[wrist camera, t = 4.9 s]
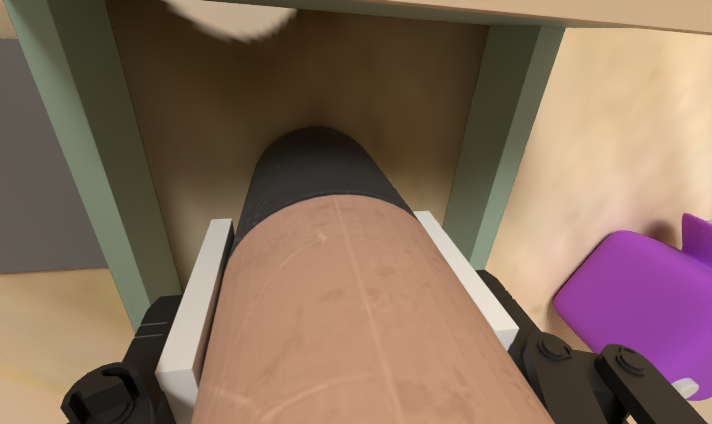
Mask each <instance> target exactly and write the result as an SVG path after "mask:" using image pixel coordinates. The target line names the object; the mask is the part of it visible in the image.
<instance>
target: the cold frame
mask: <svg viewBox="0 0 712 424" xmlns="http://www.w3.org/2000/svg"><path fill="white" fill-rule="evenodd" d="M205 1H216V2H228V3H239V4H251V5H262V6H274V7H284V8H295V9H307V10H318V11H329V12H341V13H352V14H363V15H375V16H386V17H397V18H409V19H420V20H431V21H443V22H454V23H465V24H477V25H488V26H490V27H489V32H488V36H487V40H486V44H485V49H484V53H483V57H482V61H481V66H480V70H479V74H478V78H477V83H476V87H475V91H474V95H473V100H472V104H471V108H470V112H469V117H468V121H467V125H466V129H465V134H464V138H463V142H462V146H461V151H460V155H459V159H458V163H457V168H456V172H455V176H454V180H453V185H452V189H451V193H450V197H449V201H448V206H447V210H446V214H445V218H444V223H443V227H442V229H443V230H444V231H445V233H446V234H447V235H448V237H449V238H450V239H451V240H452V242H453V243H454V244H455V246H456V247H457V248H458V250H459V251H460V252H461V253H462V255H463V256H464V257H465V259H466V260H467V261H468V262H469V264H470V265H471V266H472V268H473V269H474V270H484V269H485V266H486V263H487V260H488V257H489V254H490V251H491V248H492V245H493V242H494V239H495V236H496V233H497V230H498V227H499V224H500V221H501V218H502V216H503V213H504V210H505V207H506V204H507V201H508V198H509V195H510V192H511V189H512V186H513V183H514V180H515V177H516V174H517V171H518V168H519V165H520V162H521V159H522V156H523V153H524V150H525V147H526V144H527V141H528V138H529V135H530V132H531V129H532V126H533V124H534V121H535V118H536V115H537V112H538V109H539V106H540V103H541V100H542V97H543V94H544V91H545V88H546V85H547V82H548V79H549V76H550V73H551V70H552V67H553V64H554V61H555V58H556V55H557V52H558V49H559V46H560V43H561V40H562V37H563V34H564V32H565V29H566V28H642V29H652V30H662V31H673V32H683V33H694V34H704V35H712V0H205ZM3 2H4V5H5V7H6V10H7V12H8V15H9V17H10V20H11V22H12V25H13V27H14V30H15V32H16V35H17V37H18V40H19V42H20V45H21V47H22V50H23V52H24V55H25V57H26V60H27V62H28V65H29V68H30V70H31V73H32V75H33V78H34V80H35V83H36V85H37V88H38V90H39V93H40V95H41V98H42V100H43V103H44V105H45V108H46V110H47V113H48V115H49V118H50V120H51V123H52V125H53V128H54V131H55V133H56V136H57V138H58V141H59V143H60V146H61V148H62V151H63V153H64V156H65V158H66V161H67V163H68V166H69V168H70V171H71V173H72V176H73V178H74V181H75V183H76V186H77V188H78V191H79V194H80V196H81V199H82V201H83V204H84V206H85V209H86V211H87V214H88V216H89V219H90V221H91V224H92V226H93V229H94V231H95V234H96V236H97V239H98V241H99V244H100V246H101V249H102V251H103V254H104V256H105V259H106V262H107V264H108V267H109V269H110V272H111V274H112V277H113V279H114V282H115V284H116V287H117V289H118V292H119V294H120V297H121V299H122V302H123V304H124V307H125V309H126V312H127V314H128V317H129V319H130V322H131V325H132V327H133V330H134V332H135V334H136V332H137V330H138V328H139V327H140V324H141V321H142V319H143V317H144V315H145V313H146V311H147V309H148V308H149V307H150V306H151V305H152V304H153V303H154V302H155V301H156V300H157V299H158V298H159V297H160V296H172V295H183V293H182V289H181V286H180V282H179V278H178V274H177V271H176V267H175V263H174V259H173V256H172V252H171V248H170V244H169V241H168V237H167V233H166V229H165V226H164V222H163V218H162V214H161V211H160V207H159V203H158V199H157V195H156V192H155V188H154V184H153V180H152V177H151V173H150V169H149V165H148V162H147V158H146V154H145V150H144V147H143V143H142V139H141V135H140V132H139V128H138V124H137V120H136V117H135V113H134V109H133V105H132V102H131V98H130V94H129V90H128V87H127V83H126V79H125V75H124V72H123V68H122V64H121V60H120V57H119V53H118V49H117V45H116V42H115V38H114V34H113V30H112V27H111V23H110V19H109V15H108V12H107V8H106V4H105V0H3Z"/></svg>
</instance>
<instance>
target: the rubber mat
mask: <svg viewBox="0 0 712 424" xmlns="http://www.w3.org/2000/svg"><path fill="white" fill-rule="evenodd" d="M98 267H108V264H107V262H106V259H105V256H104V254H103V251H102V249H101V246H100V244H99V241H98V239H97V236H96V234H95V231H94V229H93V226H92V224H91V221H90V219H89V216H88V214H87V211H86V209H85V206H84V204H83V201H82V199H81V196H80V194H79V191H78V188H77V186H76V183H75V181H74V178H73V176H72V173H71V171H70V168H69V166H68V163H67V161H66V158H65V156H64V153H63V151H62V148H61V146H60V143H59V141H58V138H57V136H56V133H55V131H54V128H53V125H52V123H51V120H50V118H49V115H48V113H47V110H46V108H45V105H44V103H43V100H42V98H41V95H40V93H39V90H38V88H37V85H36V83H35V80H34V78H33V75H32V73H31V70H30V68H29V65H28V62H27V60H26V57H25V55H24V52H23V50H22V47H21V45H20V42H19V40H18V39H2V38H0V273H15V272H31V271H48V270H65V269H81V268H98Z"/></svg>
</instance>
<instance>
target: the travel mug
mask: <svg viewBox="0 0 712 424" xmlns="http://www.w3.org/2000/svg"><path fill="white" fill-rule="evenodd" d="M191 424H555V423H554V421H553V420H552V418H551V417H550V415H549V414H548V412H547V411H546V409H545V408H544V406H543V405H542V403H541V402H540V400H539V399H538V397H537V396H536V394H535V393H534V391H533V390H532V388H531V387H530V385H529V384H528V382H527V381H526V379H525V378H524V376H523V375H522V373H521V372H520V370H519V369H518V367H517V366H516V364H515V363H514V361H513V360H512V358H511V357H510V355H509V354H508V352H507V351H506V349H505V348H504V346H503V345H502V343H501V342H500V340H499V339H498V337H497V336H496V334H495V333H494V331H493V330H492V328H491V327H490V325H489V324H488V322H487V321H486V319H485V318H484V316H483V315H482V313H481V312H480V310H479V309H478V307H477V306H476V304H475V303H474V301H473V300H472V298H471V297H470V295H469V294H468V292H467V291H466V289H465V288H464V286H463V285H462V283H461V282H460V280H459V279H458V277H457V276H456V274H455V273H454V271H453V270H452V268H451V267H450V265H449V264H448V262H447V261H446V259H445V258H444V256H443V255H442V253H441V252H440V250H439V249H438V247H437V246H436V244H435V243H434V241H433V240H432V238H431V237H430V235H429V234H428V232H427V231H426V229H425V228H424V227H423V226H422V224H421V223H420V221H419V220H418V219H417V217H416V216H415V215H414V213H413V212H412V211H411V209H410V208H409V207H408V205H407V204H406V203H405V201H404V200H403V199H402V198H401V196H400V195H399V194H398V192H397V191H396V190H395V188H394V187H393V186H392V184H391V183H390V182H389V180H388V179H387V178H386V177H385V175H384V174H383V173H382V171H381V170H380V169H379V167H378V166H377V165H376V163H375V162H374V161H373V159H372V158H371V157H370V156H369V154H368V153H367V152H366V151H365V150H364V149H363V148H362V146H361V145H360V144H359V143H357V142H356V141H355V140H354V139H353V138H351V137H349V136H348V135H346V134H344V133H342V132H339V131H337V130H333V129H330V128H323V127H308V128H302V129H298V130H294V131H292V132H289V133H287V134H285V135H283V136H281V137H280V138H278V139H277V140H276V141H274V142H273V143H272V144H271V145H270V146H269V147H268V148H267V149H266V150H265V151H264V153H263V154H262V155H261V157H260V159H259V161H258V163H257V165H256V168H255V171H254V173H253V176H252V180H251V183H250V186H249V190H248V193H247V196H246V200H245V203H244V207H243V210H242V214H241V217H240V220H239V224H238V227H237V231H236V234H235V238H234V241H233V244H232V248H231V251H230V255H229V258H228V262H227V266H226V270H225V273H224V277H223V282H222V286H221V290H220V295H219V299H218V304H217V308H216V313H215V317H214V322H213V326H212V331H211V335H210V340H209V344H208V349H207V353H206V358H205V362H204V367H203V371H202V376H201V380H200V385H199V389H198V394H197V398H196V402H195V407H194V411H193V416H192V420H191Z"/></svg>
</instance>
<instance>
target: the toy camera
mask: <svg viewBox="0 0 712 424" xmlns="http://www.w3.org/2000/svg"><path fill="white" fill-rule="evenodd" d="M682 243H683V245H682V251H681V250H679V249H677V248H675V247H672V246H670V245H667V244H665V243H663V242H660V241H658V240H655V239H652V238H650V237H647V236H644V235H641V234H638V233H635V232H631V231H616V232H614V233H612V234H611V235H609V236H608V237H607V238H606V239H605V240H604V241H603V242H602V243H601V244H600V245H599V246H598V247H597V248H596V250H595V251H594V252H593V253H592V254H591V255H590V256H589V257H588V259H587V260H586V261H585V262H584V263H583V264H582V265H581V267H580V268H579V269H578V270H577V271H576V272H575V273H574V275H573V276H572V277H571V278H570V279H569V280H568V281H567V283H566V284H565V285H564V286H563V287H562V288H561V290H560V291H559V292H558V294H557V295H556V297H555V299H554V301H553V306H554V308H555V310H556V312H557V313H558V314H559V316H560V317H561V318H562V319H563V320H564V321H565V323H566V324H567V325H568V326H569V327H570V328H571V329H572V330H573V331H574V332H575V333H576V334H577V335H578V336H579V338H580V339H581V340H582V341H583V342H584V343H585V344H586V345H587V346H588V347H589V348H590V349H591V350H592V351H593V352H594V353H596V354H600V353H601V351H602V350H603V348H604V347H605V346H606V345H608V344H619V345H623V346H626V347H628V348H631V349H633V350H635V351H636V352H638V353H640V354H641V355H643V356H644V357H645V358H646V359H647V360H649V361H650V362H651V363H652V364H653V365H654V366H655V367H656V368H657V369H658V371H659V372H660V373H661V374H662V375H663V376H664V377H665V378H666V379H667V380H668V381H669V382H670V383H671V385H672V386H673V387H674V388H675V389H676V390H677V391H678V392H679V393H680V394H681V395H682V396H683V397H684V399H685V400H690V401H700V400H705V399H708V398H710V397H712V220H709V221H704V220H702V219H700V218H698V217H695V216H693V215H691V214H689V213H684V214H683V217H682Z"/></svg>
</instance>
